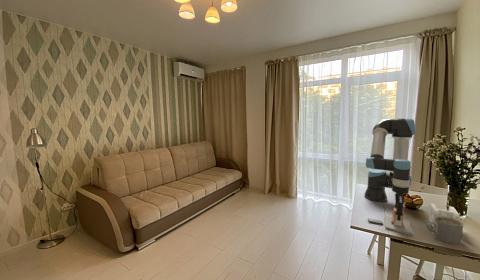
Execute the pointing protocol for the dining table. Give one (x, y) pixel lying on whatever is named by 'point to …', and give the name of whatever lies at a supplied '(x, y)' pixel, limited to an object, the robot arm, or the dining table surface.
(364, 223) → the dining table surface
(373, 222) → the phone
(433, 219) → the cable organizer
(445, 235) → the coffee mug
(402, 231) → the outlet plate
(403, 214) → the block
